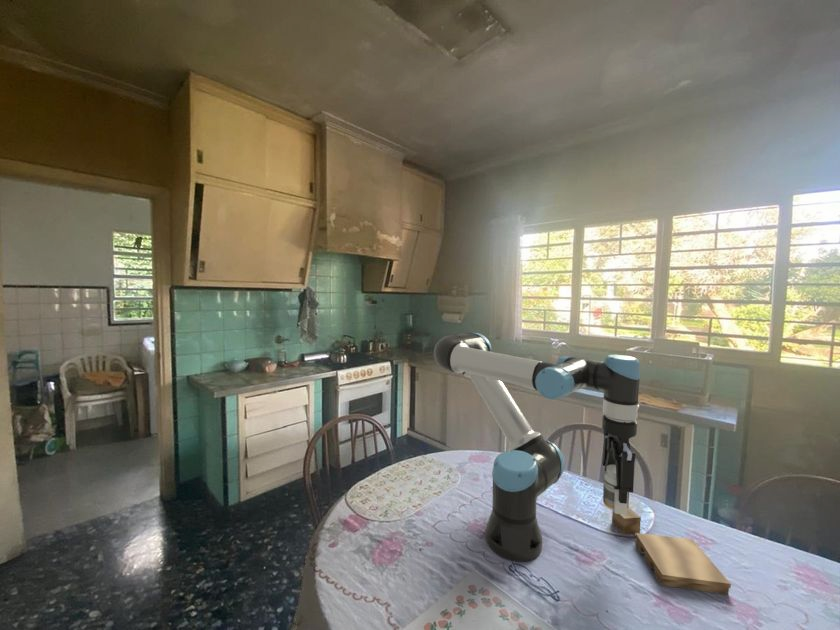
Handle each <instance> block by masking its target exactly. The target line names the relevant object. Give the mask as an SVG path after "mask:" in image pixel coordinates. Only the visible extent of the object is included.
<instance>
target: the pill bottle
mask: <svg viewBox="0 0 840 630" xmlns="http://www.w3.org/2000/svg"><path fill="white" fill-rule="evenodd" d="M606 472H607V473H606ZM606 472H605V473H606V474H604V475H603V491H602V502H603V504H604V506H605V508H608V509H609V510H611V511H614V496H615V489H614V486H617V479H616V465H608V466H607V468H606ZM629 501H630V492H628V502H627V510H628V507H630V506H629V505H630V503H629Z"/></svg>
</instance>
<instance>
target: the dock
mask: <svg viewBox="0 0 840 630" xmlns="http://www.w3.org/2000/svg"><path fill="white" fill-rule="evenodd" d="M634 535H635V546H636V547H637V549H638V551H639V552H640V553H641V554H644V560H645V561H646V563H647V565H648V567H649V568H650V569H654V570H653V571H654V572H653V576H655V578H656V580H657V581H658V583H659V585H660V586H667V587H674V588H681V589H688V590H695V591H701V592H702V591H703V592H709V593H717V594H723V595H729V591H730V589H731V588H732V587H731V585H732V584H731V583H730V581H729V580H728V578H726V576H724V574H723V573H722V572H721V571H720V569H719V568H718V567H717V566H716V565H715V564H714V563H713V561H712V560H711V559H710V558H709V557H708V556H707V554H706V553H705V552H704V551H703V550H702V549H701V547H700V546H699V544H697V543H696V542H695V540H694V539H692V538H686V537H685V538H683V537H676V536H668V535H667V536H666V535H657V534H648V533H641V532H640V533H635V534H634Z"/></svg>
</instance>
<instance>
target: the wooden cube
mask: <svg viewBox="0 0 840 630" xmlns="http://www.w3.org/2000/svg"><path fill="white" fill-rule="evenodd" d="M611 511H612V512H611V513H612V516H611V524H612V525H613V526H614V527H615V528H616V529H617V530H619V532H620V533H621V534H622V535H623V536H626V535H628V534H629V535H635V533H641V519H642V518H641V516H640V515H639V514H638V513H636V512H635V510H633V509H632V508H631V507H630V506H629V507H628V510H627V515H624V514H616V513H614V511H613V510H611Z"/></svg>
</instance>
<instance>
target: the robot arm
mask: <svg viewBox="0 0 840 630" xmlns="http://www.w3.org/2000/svg"><path fill="white" fill-rule="evenodd" d="M433 358H434V360H435V363H436V364H437V366H439V367H440V368H441V369H443V370H445V371H448V372H451V373H455V374H463V376H464V377H465V378H469V379H470V380H471V381H472V383H473V384H474V386H475V388H476V389H477V391H478V393H479V395H480V397H481V398H482V400H483V402H484V403H485V405H486V406H487V408H488V410H489V411H490V413H491V415H492V417H493V418H494V420H495V422H496V424H497V425H498V427H499V429H500V431H501V432H502V434H503V436H504V437H505V438H506V440H507V442H508V443H509V445H508V450H506V451H503V452H500V453H499V454H498V455H497V456H496V457H495V458H494V461H493V465H492V466H493V467H492V473H491V474H492V510H491V512H490V515H489V518H488V520H487V523H486V526H485V540H486V543H487V545H488V547H489V548H490V549H491V550H492V551H493V552H494V553H495V554H497V555H498V556H500V557H501V558H505V559H506V560H510V561H513V562H529V561H533V560H535V559H536V558H538V557H539V556H540V555H541V553H542V550H543V536H542V533H541V530H540V526H539V523H538V520H537V500H538V497H540V495H542V494H543V493H544V492H545V491H547V489H549V488H550V487H551V486H552V485H554V484H556V483H557V482H558V481H559V480H560V478H561V477H562V476H563V473H564V471H565V468H566V467H565V464H566V462H565V459H564V455H563V453H562V451H561V449H560V448H559V446H557V445H556V444H555V443H553V442H550V440H547V439H545V438H544V436H543V435H542V433H541V432H539V431H535V430H534V429H533V428H532V426H531V424H530V423H529V421H528V420H527V418H526V417H525V415H524V414H523V412H522V410H521V409H520V407H519V406H518V404H517V402H516V401H515V400H514V398H513V396H512V395H511V393H510V392H509V390H508V388H507V387H506V385H505V384H504V383H507V384H509V385H510V384H512V385H515V386H519V387H522V388H526V389H531V390H535V391H538V393H539V394H540V395H542V397H543V398H546V399H549V400H558V399H563V398H566V397H568V396H569V395H571V394H572V393H574V392H577V391H579V390H581V389H582V388H587V389H592V390H596V391H602V392H603V397H602V414H603V415H602V421H601V423H602V424H601V428H602V430H603V445H602V446H603V447H602V448H603V449H602V450H603V451H602V463H601V465H602V467H603V466H604V472H605V474H606V473H607V472H606V468H607V466H608V465H616V479H617V486H614V489H615V496H614V513H616V514H624V515H627V502H628V492H629V493H631V494H633V493H634V482H635V481H634V479H635V478H634V477H635V459H636V452H634V451H631V443H630V439H632V438H635V437H636V436H637V434H638V430H637V429H638V421H637V419H638V413H639V411H638V410H639V409H640V405H639V393H640V392H639V391H640V381H641V375H640V374H641V373H640V369H641V368H640V363H641V362H640V361H639V359H638V358H636V357H634V356H631V355H625V354H620V355H619V354H608V355H607V356H605V359H604V360H603V361H601V360H594V359H589V358H581V357H577V356H566V355H564V356H561V357H559V358H558V360H557V361H556V363H550V362H546V361H541V360H536V359H532V358H526V357H520V356H516V355H515V356H514V355H511V354H504V353H501V352H500V353H499V352H493V351H492V344H491V342H490V341H489V339H488V337H486V336H485V335H483V334H482V333H478V332H471V331H470V332H464V333H460V334H452V335H451V334H450V335H446V336H444V337H442V338H441V339H440V338H439V340H438V341H437V343H436V344H435V346H434V348H433ZM605 474H604V475H605Z"/></svg>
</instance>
